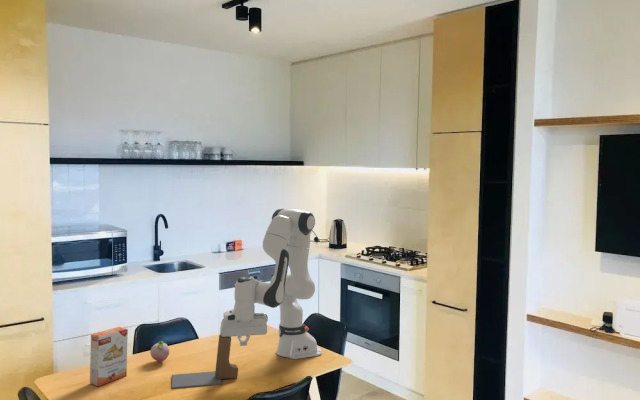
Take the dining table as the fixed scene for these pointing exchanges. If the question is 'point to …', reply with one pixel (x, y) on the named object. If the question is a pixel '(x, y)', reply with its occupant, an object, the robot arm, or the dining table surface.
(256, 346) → the dining table surface
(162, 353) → the turnip
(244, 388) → the dining table surface
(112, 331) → the cracker box
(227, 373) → the wooden block
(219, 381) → the charcoal rubber mat
